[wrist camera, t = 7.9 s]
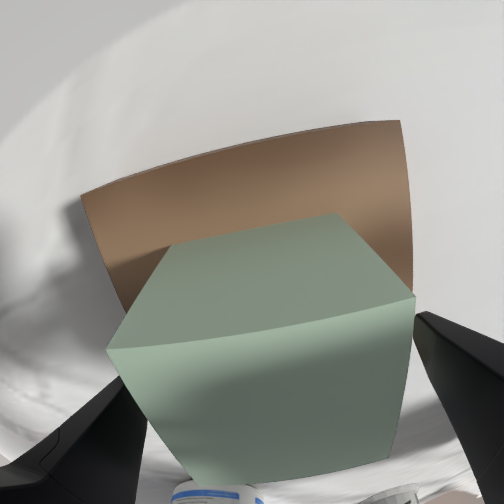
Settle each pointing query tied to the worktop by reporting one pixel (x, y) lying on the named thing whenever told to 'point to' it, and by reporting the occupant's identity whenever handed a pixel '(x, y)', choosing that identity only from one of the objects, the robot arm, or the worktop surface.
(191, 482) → the supplement tub
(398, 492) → the french press
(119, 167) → the worktop surface
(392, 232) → the walnut block
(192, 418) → the sage cube
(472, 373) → the robot arm
